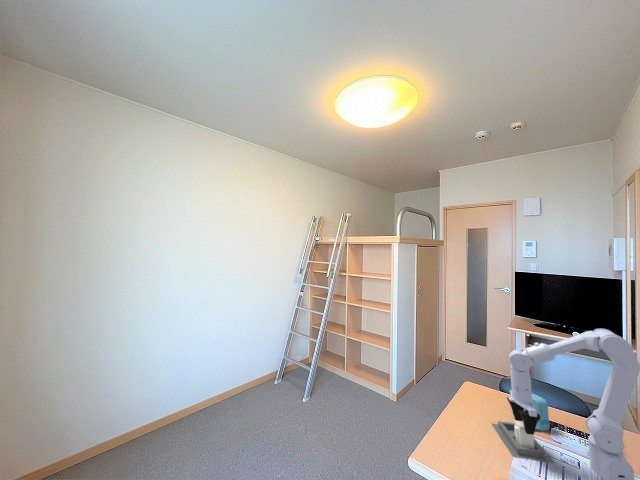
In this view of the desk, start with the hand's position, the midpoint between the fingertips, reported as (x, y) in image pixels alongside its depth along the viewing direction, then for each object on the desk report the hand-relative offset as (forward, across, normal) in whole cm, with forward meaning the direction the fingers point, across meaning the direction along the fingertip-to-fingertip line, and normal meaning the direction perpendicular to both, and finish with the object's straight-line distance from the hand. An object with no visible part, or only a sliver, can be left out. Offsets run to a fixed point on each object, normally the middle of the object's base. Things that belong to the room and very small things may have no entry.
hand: (524, 426), depth 93 cm
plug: (+7, 0, +1) cm, 7 cm away
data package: (+8, -18, +10) cm, 23 cm away
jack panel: (+8, -4, 0) cm, 9 cm away
